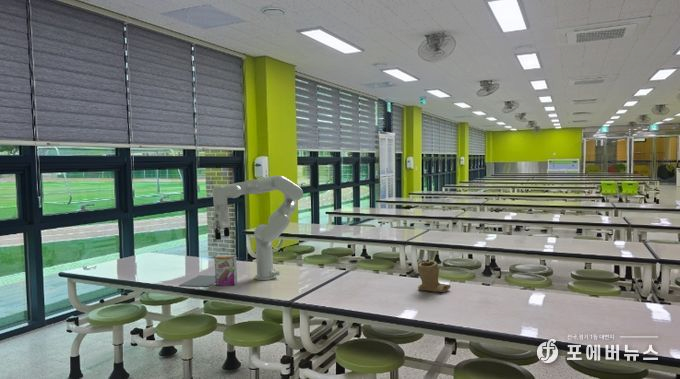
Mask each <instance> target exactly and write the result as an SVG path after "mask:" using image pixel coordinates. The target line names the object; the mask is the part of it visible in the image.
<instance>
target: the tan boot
mask: <svg viewBox="0 0 680 379" xmlns="http://www.w3.org/2000/svg"><path fill="white" fill-rule="evenodd" d="M417 272H418V275H419V277H420V280H421V284H419V285H418V286H417V289H418V290H420V291H426V292H427V291H428V292H437V293H445V292H447V291H449V290H450V288H451V285H450V284H445V283H440V282H439V275H440V274H439V273H440V267H439V264H438V262H436V260H435V261H434V260H431V261H430V260H429V261H422V262H420V263H419V264H418V265H417Z"/></svg>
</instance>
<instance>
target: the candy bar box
mask: <svg viewBox="0 0 680 379" xmlns="http://www.w3.org/2000/svg"><path fill="white" fill-rule="evenodd" d="M237 267H238V266H237V255H236V254H217V255H215V256H214V273H215V274H214V276H215V279H216V283H215V286H236V284H238V273H237V272H238V271H237V270H238V269H237Z"/></svg>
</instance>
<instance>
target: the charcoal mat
mask: <svg viewBox="0 0 680 379" xmlns="http://www.w3.org/2000/svg"><path fill="white" fill-rule="evenodd" d="M214 284H215V285H216V279H215V275H208V274H207V275H204V274H203V275H197V276H195V277H193V278H191V279H189V280H187V281H185V282H183V283H181V284H179V287H195V288H196V287H197V288H198V287H199V288H201V287H202V288H209V287H211V286H213V285H214Z"/></svg>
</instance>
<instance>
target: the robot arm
mask: <svg viewBox="0 0 680 379" xmlns="http://www.w3.org/2000/svg"><path fill="white" fill-rule="evenodd" d="M273 191H279V192H281V193H282V194H283V196H284V198H283V202H282V204H280V206H279V207H278V208H277V209H275V210H274V212H273V213H271V214H270V215H269V217H268V224H259V225H257V226H256V227H255V229H254V233H253V234H254V235H253V236H254V241H255V254H256V275H255V276H254V279H255V280H257V281H269V280H273V279H275V278H277V276H280V275H281V272H280V271H276V269H275V268H274V257H273V255H274V254H273V250H274V249H273V242H274V241H275V240H277V238H279V236H281V234H282V233H283V232H284V231H285V230H286V229H287V228H288V226H289V225H290V216H292V215H293V214H294V213H295V211H296V209H297V205H298V201H300V200H301V199H303V196H304V191H303V189H302V188H301V187H300V186H299V185H298V184H295V183H294V182H293V181H291V180H290V179H288V178H287V177H285V176H283V175H272V176H266V177H261V178H256V179H255V178H254V179H251V180H246V181H241V182H235V183H230V184H227V185H214V186H213V187H212V196H213V198H212V200H213V213H214V214H213V223H214V224H213V225H212V228H213V230H214V236H215V237H214V239H215V240H218V241H219V240H221V239H222V232H221V229H223V237H230V226H231V219H230V212H229V207H228V199H231V198H232V199H236V198H237V199H238V198H239V197H240V196H242V195H243V196H244V195H249V194H250V195H257V194H259V195H260V194H264V193H268V192H273Z"/></svg>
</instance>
